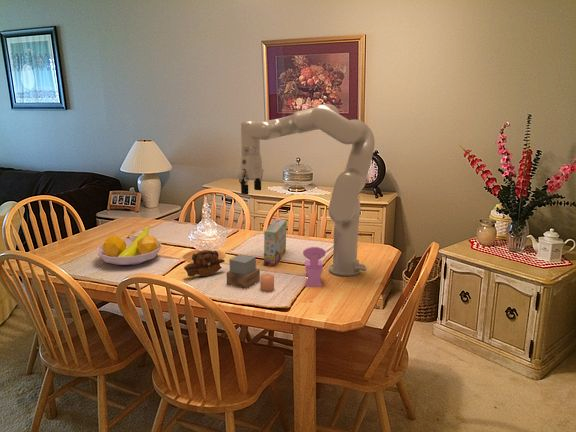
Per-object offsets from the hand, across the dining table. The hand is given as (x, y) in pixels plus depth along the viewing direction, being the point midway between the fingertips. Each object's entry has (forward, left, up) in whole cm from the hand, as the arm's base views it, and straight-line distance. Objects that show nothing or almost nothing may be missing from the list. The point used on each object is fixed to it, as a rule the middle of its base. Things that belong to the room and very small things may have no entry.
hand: (251, 192), depth 201 cm
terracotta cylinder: (-23, +26, -29) cm, 46 cm away
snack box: (-9, -5, -30) cm, 31 cm away
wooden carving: (+5, +26, -30) cm, 40 cm away
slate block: (-12, +25, -25) cm, 37 cm away
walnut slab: (-12, +25, -30) cm, 41 cm away
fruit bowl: (+44, +26, -30) cm, 59 cm away
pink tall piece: (-35, +12, -29) cm, 47 cm away
